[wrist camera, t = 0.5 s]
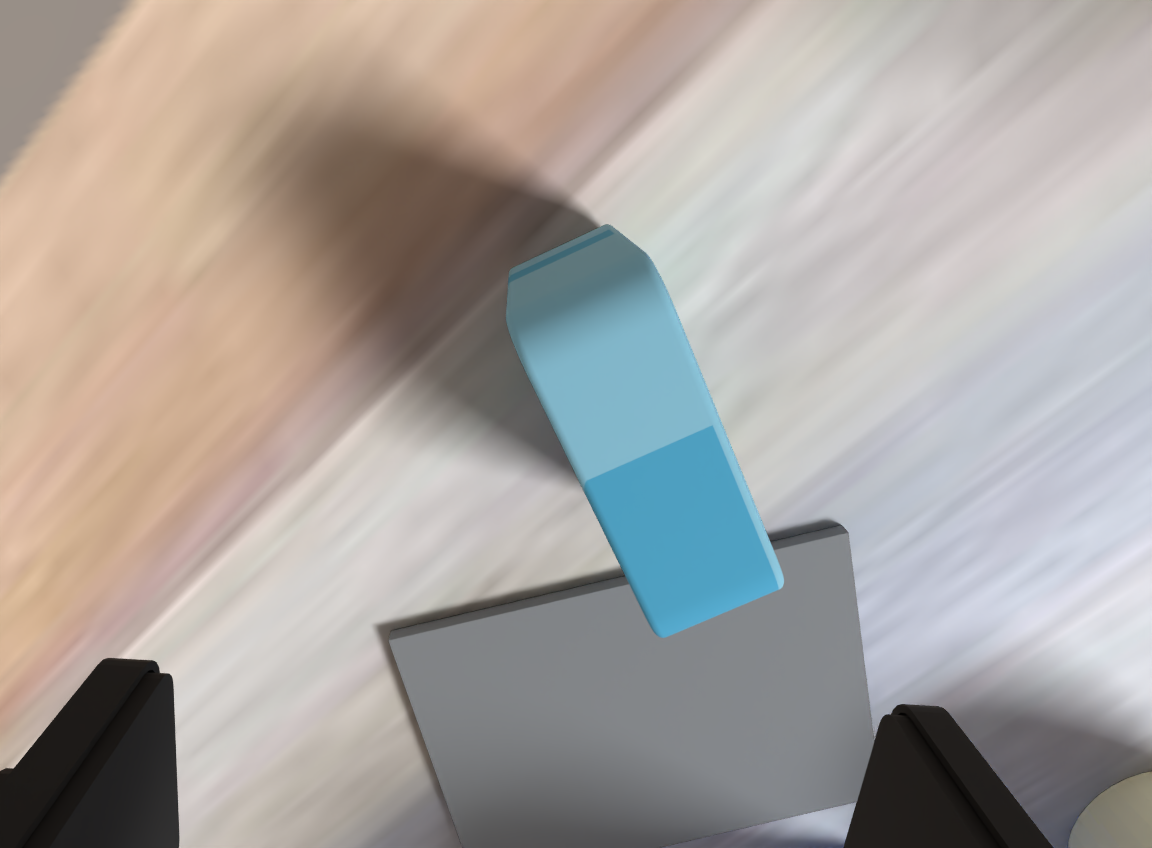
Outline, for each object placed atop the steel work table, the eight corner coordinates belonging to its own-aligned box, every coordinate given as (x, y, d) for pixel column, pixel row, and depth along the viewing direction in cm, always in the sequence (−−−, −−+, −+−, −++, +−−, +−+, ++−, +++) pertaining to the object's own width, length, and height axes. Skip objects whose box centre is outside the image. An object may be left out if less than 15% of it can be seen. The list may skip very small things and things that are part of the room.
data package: (506, 265, 33) (501, 325, 22) (606, 218, 33) (654, 254, 21) (620, 504, 37) (665, 661, 26) (710, 464, 37) (797, 605, 25)
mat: (841, 525, 38) (848, 532, 37) (874, 784, 43) (880, 796, 43) (391, 630, 38) (388, 640, 37) (478, 877, 43) (477, 890, 43)
